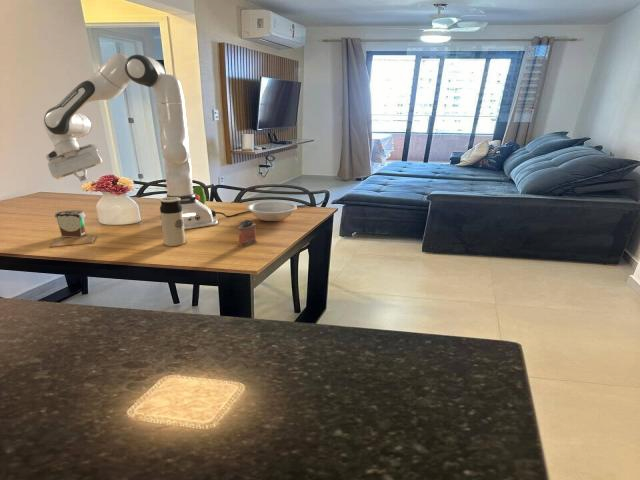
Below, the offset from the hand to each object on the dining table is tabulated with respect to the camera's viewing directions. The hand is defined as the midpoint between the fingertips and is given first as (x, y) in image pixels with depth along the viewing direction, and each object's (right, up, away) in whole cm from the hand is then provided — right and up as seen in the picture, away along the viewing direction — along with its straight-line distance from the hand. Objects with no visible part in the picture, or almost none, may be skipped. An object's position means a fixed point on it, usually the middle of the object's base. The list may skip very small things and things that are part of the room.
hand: (84, 180), depth 166 cm
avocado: (+37, -9, +41) cm, 56 cm away
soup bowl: (+80, -16, +21) cm, 84 cm away
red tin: (+74, -28, -13) cm, 80 cm away
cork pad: (+5, -27, -15) cm, 31 cm away
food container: (+2, -24, -8) cm, 26 cm away
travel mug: (+45, -27, -14) cm, 55 cm away
